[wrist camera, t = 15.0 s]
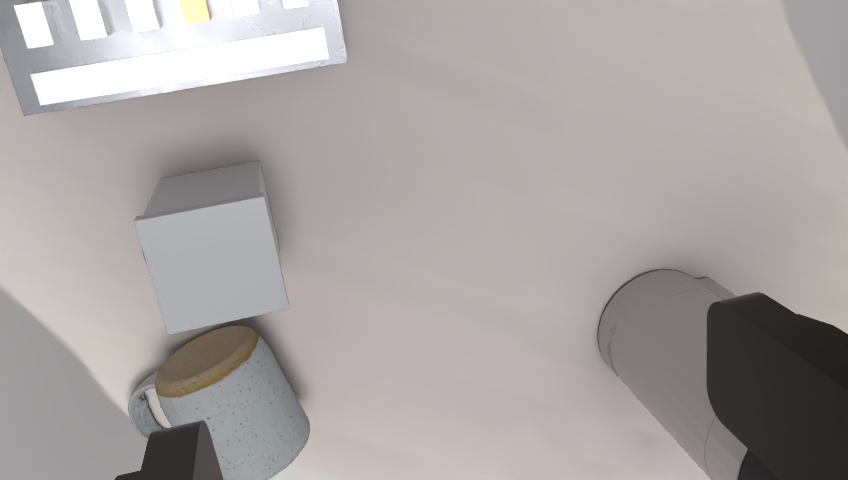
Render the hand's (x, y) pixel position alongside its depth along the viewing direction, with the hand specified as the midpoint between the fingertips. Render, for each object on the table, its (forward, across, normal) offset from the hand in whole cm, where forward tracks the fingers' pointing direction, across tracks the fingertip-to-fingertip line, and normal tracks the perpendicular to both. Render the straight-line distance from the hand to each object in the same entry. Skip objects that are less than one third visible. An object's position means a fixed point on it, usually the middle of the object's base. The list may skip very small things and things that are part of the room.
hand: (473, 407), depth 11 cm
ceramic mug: (+36, +10, +19) cm, 42 cm away
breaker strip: (+36, +7, -5) cm, 37 cm away
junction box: (+36, +7, +7) cm, 37 cm away
